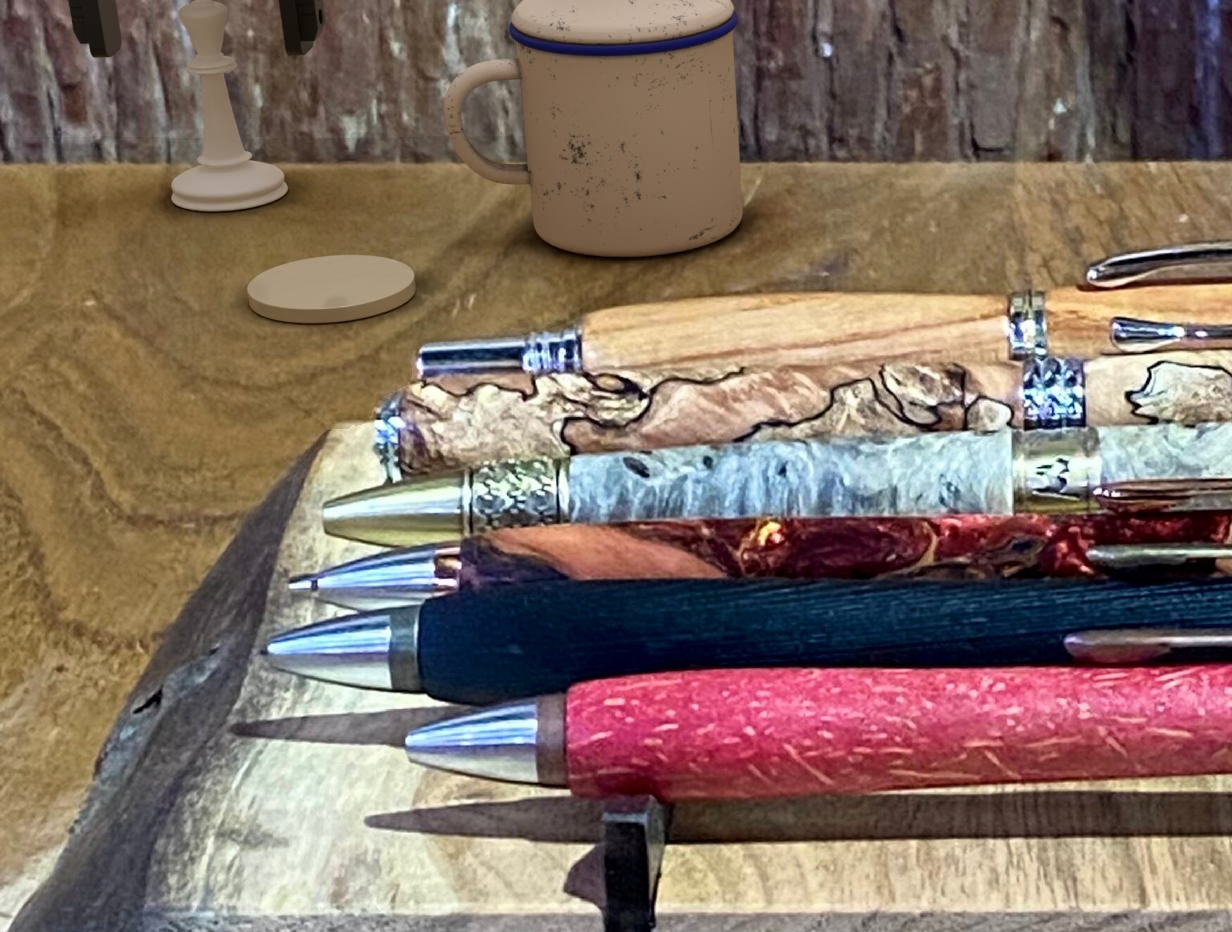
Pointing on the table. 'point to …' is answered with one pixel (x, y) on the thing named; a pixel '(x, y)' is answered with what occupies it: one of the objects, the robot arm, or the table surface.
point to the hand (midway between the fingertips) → (204, 52)
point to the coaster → (331, 289)
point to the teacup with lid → (619, 123)
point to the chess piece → (220, 128)
